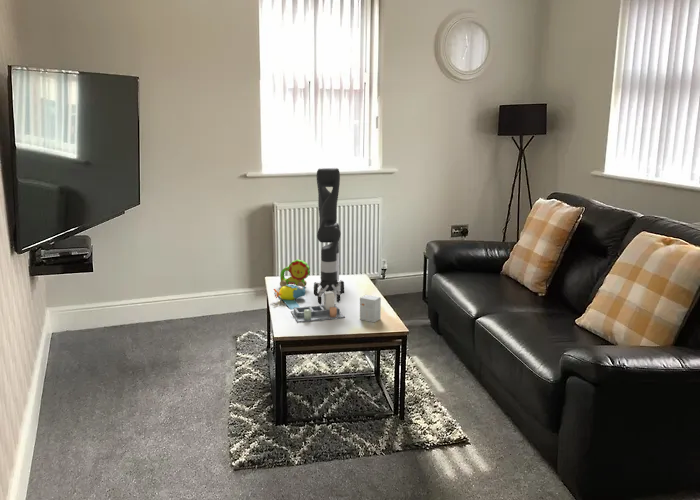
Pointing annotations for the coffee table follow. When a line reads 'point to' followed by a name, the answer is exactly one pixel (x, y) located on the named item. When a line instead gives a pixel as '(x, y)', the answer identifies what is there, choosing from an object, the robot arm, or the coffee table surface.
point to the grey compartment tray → (316, 313)
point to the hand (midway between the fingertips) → (329, 303)
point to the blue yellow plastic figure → (290, 294)
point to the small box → (370, 308)
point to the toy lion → (295, 273)
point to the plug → (328, 300)
